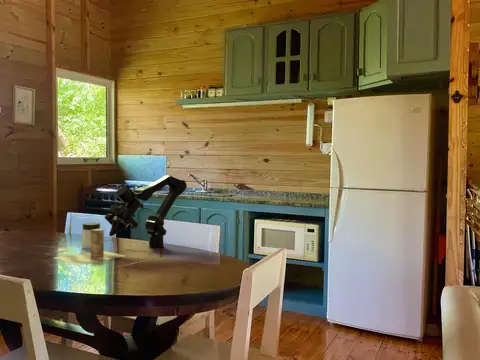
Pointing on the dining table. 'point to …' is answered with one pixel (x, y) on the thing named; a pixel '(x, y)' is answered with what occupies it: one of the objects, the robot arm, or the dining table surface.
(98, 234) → the block
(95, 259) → the board
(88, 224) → the jar
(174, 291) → the dining table surface
